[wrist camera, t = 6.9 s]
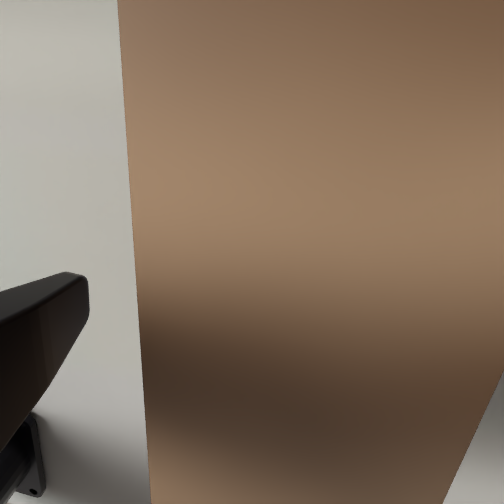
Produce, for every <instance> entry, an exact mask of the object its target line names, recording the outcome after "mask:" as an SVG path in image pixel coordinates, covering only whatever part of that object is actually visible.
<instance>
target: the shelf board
mask: <svg viewBox="0 0 504 504" xmlns="http://www.w3.org/2000/svg"><path fill="white" fill-rule="evenodd" d="M117 2H118V17H119V32H120V47H121V62H122V77H123V92H124V107H125V122H126V136H127V151H128V166H129V181H130V196H131V211H132V226H133V241H134V256H135V271H136V286H137V301H138V316H139V331H140V346H141V361H142V375H143V390H144V405H145V420H146V435H147V450H148V465H149V480H150V495H151V504H442V503H443V501H444V499H445V497H446V495H447V492H448V490H449V488H450V486H451V484H452V482H453V479H454V477H455V475H456V473H457V471H458V469H459V466H460V464H461V462H462V460H463V458H464V456H465V453H466V451H467V449H468V447H469V445H470V443H471V440H472V438H473V436H474V434H475V432H476V430H477V427H478V425H479V423H480V421H481V419H482V417H483V414H484V412H485V410H486V408H487V406H488V404H489V401H490V399H491V397H492V395H493V393H494V391H495V388H496V386H497V384H498V382H499V380H500V378H501V375H502V373H503V371H504V0H117Z"/></svg>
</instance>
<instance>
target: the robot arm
mask: <svg viewBox="0 0 504 504" xmlns="http://www.w3.org/2000/svg"><path fill="white" fill-rule="evenodd" d="M89 311H90V308H89V289H88V281H87V278H86V277H85V276H83V275H79V274H75V273H71V272H62V273H59V274H55V275H52V276H49V277H46V278H43V279H40V280H36V281H33V282H30V283H27V284H24V285H20V286H17V287H14V288H11V289H8V290H4V291H1V292H0V504H6V503H7V502H8V500H9V499H10V498H11V496H12V495H13V493H14V492H15V491H16V492H19V493H23V494H26V495H29V496H33V497H41V496H42V494H43V493H44V491H45V490H46V485H45V478H44V472H43V465H42V459H41V452H40V446H39V439H38V433H37V426H36V421H35V419H34V418H33V417H32V416H31V415H29V413H30V412H31V410H32V409H33V408H34V406H35V405H36V404H37V402H38V401H39V400H40V398H41V397H42V395H43V394H44V392H45V391H46V390H47V388H48V387H49V385H50V384H51V382H52V380H53V379H54V377H55V375H56V374H57V372H58V370H59V369H60V367H61V365H62V363H63V362H64V360H65V358H66V357H67V355H68V353H69V351H70V350H71V348H72V346H73V345H74V343H75V341H76V339H77V338H78V336H79V334H80V333H81V331H82V329H83V327H84V326H85V324H86V322H87V320H88V317H89Z"/></svg>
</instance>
